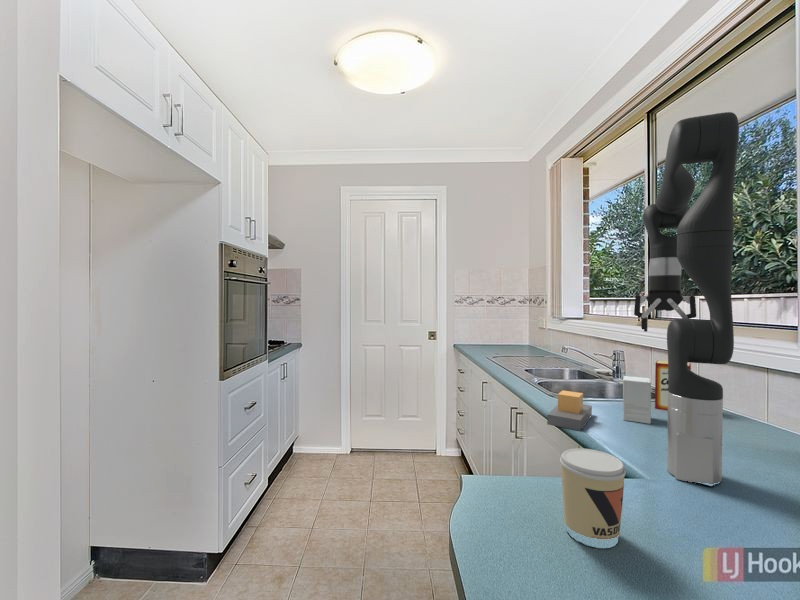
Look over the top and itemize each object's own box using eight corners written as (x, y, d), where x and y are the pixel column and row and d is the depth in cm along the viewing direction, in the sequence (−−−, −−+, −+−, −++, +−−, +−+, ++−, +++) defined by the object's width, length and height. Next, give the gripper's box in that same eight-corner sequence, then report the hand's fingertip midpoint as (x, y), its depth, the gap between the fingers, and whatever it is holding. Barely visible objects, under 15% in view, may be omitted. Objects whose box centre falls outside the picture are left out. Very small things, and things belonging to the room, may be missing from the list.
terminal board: (580, 430, 108) (580, 407, 108) (547, 424, 113) (547, 402, 113) (591, 414, 123) (591, 394, 123) (562, 409, 128) (562, 390, 128)
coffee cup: (595, 560, 55) (596, 477, 55) (546, 524, 64) (547, 452, 63) (638, 543, 59) (639, 465, 59) (587, 512, 67) (588, 444, 67)
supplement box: (650, 418, 120) (651, 377, 120) (651, 424, 114) (651, 382, 114) (623, 414, 124) (623, 375, 124) (622, 420, 118) (622, 379, 118)
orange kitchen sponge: (578, 414, 114) (579, 397, 114) (557, 410, 117) (557, 394, 117) (582, 409, 119) (583, 393, 119) (562, 405, 122) (562, 390, 122)
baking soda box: (655, 408, 130) (655, 361, 130) (656, 404, 135) (657, 359, 135) (689, 414, 124) (690, 365, 124) (690, 409, 129) (690, 362, 129)
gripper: (633, 274, 108) (633, 331, 108) (697, 273, 100) (696, 335, 100) (635, 276, 114) (635, 330, 114) (696, 274, 106) (695, 332, 106)
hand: (663, 332), depth 107 cm, fingers open, 8 cm apart
